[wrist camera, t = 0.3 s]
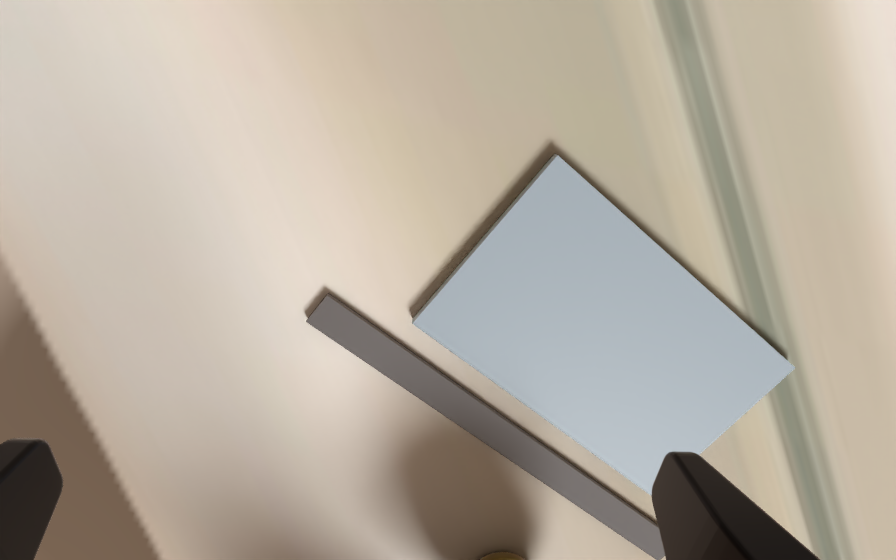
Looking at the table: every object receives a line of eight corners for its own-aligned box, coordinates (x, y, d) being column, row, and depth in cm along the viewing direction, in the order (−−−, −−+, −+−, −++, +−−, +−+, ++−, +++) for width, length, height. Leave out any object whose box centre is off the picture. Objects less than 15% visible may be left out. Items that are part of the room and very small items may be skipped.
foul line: (656, 556, 29) (658, 561, 29) (307, 318, 23) (306, 321, 23) (677, 538, 29) (679, 542, 28) (328, 292, 23) (327, 295, 23)
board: (648, 489, 28) (652, 496, 27) (412, 318, 24) (412, 323, 23) (788, 362, 26) (795, 367, 25) (554, 153, 22) (557, 155, 21)
